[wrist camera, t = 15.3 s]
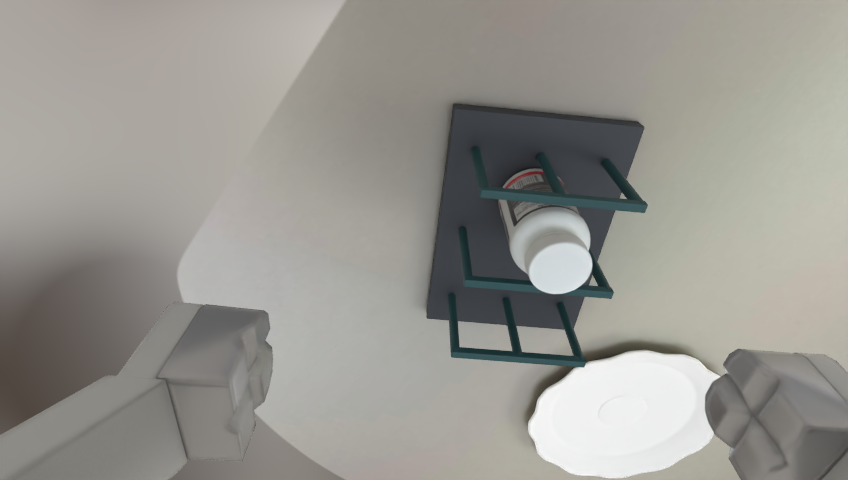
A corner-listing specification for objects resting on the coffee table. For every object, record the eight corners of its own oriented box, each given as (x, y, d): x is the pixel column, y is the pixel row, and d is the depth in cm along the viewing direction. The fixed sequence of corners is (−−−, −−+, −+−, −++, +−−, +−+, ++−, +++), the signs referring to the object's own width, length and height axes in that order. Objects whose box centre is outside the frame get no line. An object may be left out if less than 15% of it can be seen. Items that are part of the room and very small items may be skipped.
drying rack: (453, 103, 35) (459, 145, 28) (639, 121, 36) (691, 167, 29) (426, 310, 46) (425, 379, 39) (570, 322, 47) (595, 392, 39)
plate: (504, 372, 50) (506, 384, 49) (713, 317, 46) (722, 329, 45) (551, 479, 61) (554, 492, 59) (726, 443, 56) (733, 456, 55)
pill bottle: (554, 230, 40) (587, 308, 31) (491, 222, 39) (507, 298, 31) (575, 171, 37) (617, 239, 28) (506, 161, 36) (529, 227, 28)
